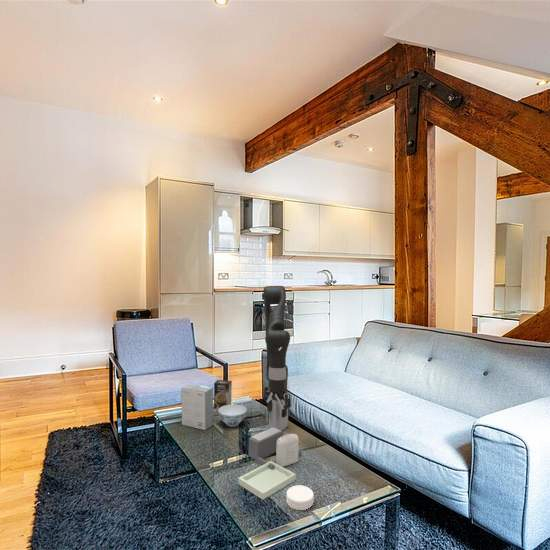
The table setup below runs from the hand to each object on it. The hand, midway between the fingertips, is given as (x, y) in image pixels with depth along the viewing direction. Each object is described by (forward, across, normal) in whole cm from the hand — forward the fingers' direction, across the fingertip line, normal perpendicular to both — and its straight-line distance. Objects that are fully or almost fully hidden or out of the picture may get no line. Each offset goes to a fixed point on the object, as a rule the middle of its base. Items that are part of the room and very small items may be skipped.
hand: (276, 414), depth 164 cm
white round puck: (+22, -25, +12) cm, 35 cm away
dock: (+21, +5, -3) cm, 22 cm away
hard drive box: (+21, +55, +4) cm, 60 cm away
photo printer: (+22, -3, -3) cm, 22 cm away
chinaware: (+21, +44, -10) cm, 50 cm away
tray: (+21, -8, +13) cm, 26 cm away
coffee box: (+21, +64, -18) cm, 70 cm away
